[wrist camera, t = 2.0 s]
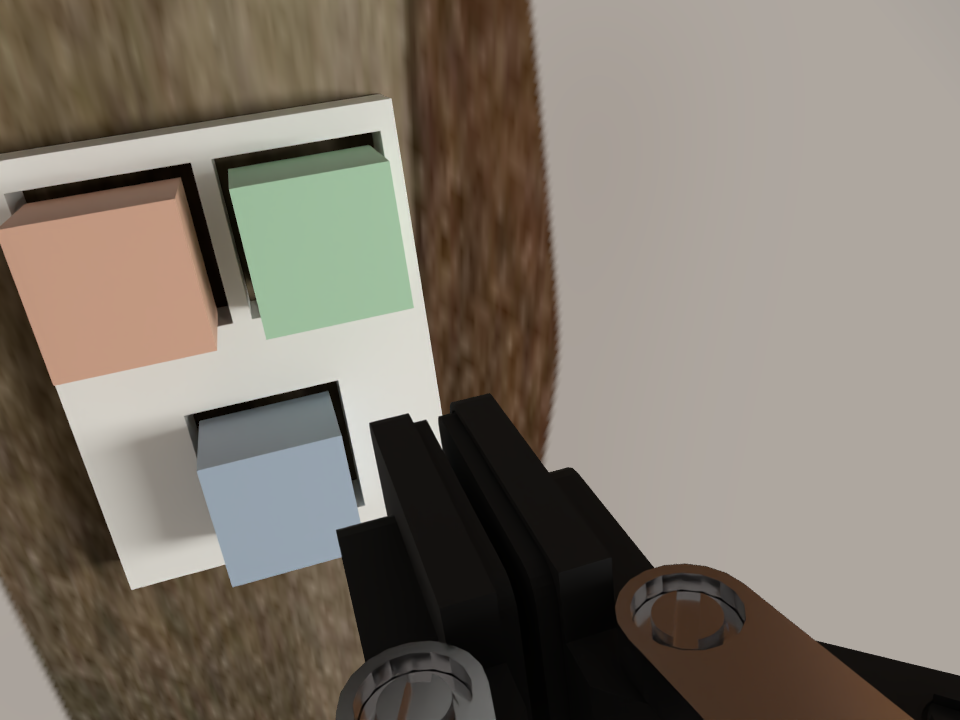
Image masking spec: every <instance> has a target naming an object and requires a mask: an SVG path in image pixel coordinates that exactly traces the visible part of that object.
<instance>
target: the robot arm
mask: <svg viewBox="0 0 960 720" xmlns="http://www.w3.org/2000/svg"><path fill="white" fill-rule="evenodd" d="M438 425H439V432H440V438H441V444H442V448H441V446H440V444H439V442H438V440H437V438H436V437H435V435H434V433H433V431H432V429H431V427H430V425H429V423H428V421H427V420H422V421H418V422H413V420H412V418H411V416H410V415H409V413H407V414H403V415H398V416H394V417H390V418H386V419H382V420H378V421H374V422H370V423H369V428H370V434H371V439H372V444H373V449H374V454H375V459H376V464H377V469H378V473H379V478H380V483H381V488H382V493H383V498H384V503H385V508H386V513H387V516H385V517H382V518H378V519H374V520H371V521H367V522H363V523H359V524H356V525H352V526H348V527H345V528H341V529H337V530H336V534H337V538H338V542H339V547H340V551H341V556H342V560H343V565H344V569H345V574H346V578H347V582H348V587H349V591H350V596H351V600H352V605H353V609H354V614H355V618H356V622H357V627H358V631H359V636H360V640H361V645H362V649H363V654H364V658H365V663H364V664H363V665H362V666H361V667H360V668H359V669H358V670H357V671H356V672H354V673H353V674H352V675H351V677H350V678H349V680H348V682H347V683H346V685H345V687H344V688H343V690H342V691H341V693H340V697H339V702H338V706H337V711H336V720H960V676H958V675H954V674H950V673H946V672H942V671H938V670H934V669H930V668H926V667H922V666H917V665H914V664H909V663H905V662H901V661H897V660H892V659H889V658H885V657H881V656H877V655H873V654H868V653H864V652H860V651H856V650H852V649H848V648H844V647H839V646H836V645H832V644H827V643H823V642H819V641H815V640H814V639H813V638H811V637H810V636H809V635H808V634H806V633H805V632H804V631H803V630H801V629H800V628H799V627H798V626H796V625H795V624H794V623H793V622H791V621H790V620H789V619H787V618H786V617H785V616H784V615H783V614H781V613H780V612H779V611H777V610H776V609H775V608H774V607H773V606H771V605H770V604H769V603H768V602H766V601H765V600H764V599H763V598H761V597H760V596H759V595H758V594H756V593H755V592H754V591H753V590H751V589H750V588H749V587H748V586H746V585H745V584H744V583H742V582H741V581H739V580H737V579H736V578H734V577H732V576H731V575H729V574H727V573H725V572H722V571H719V570H716V569H713V568H710V567H707V566H701V565H693V564H673V565H663V566H660V567H656V568H654V567H653V566H652V565H651V563H650V562H649V561H648V560H647V558H646V557H645V556H644V555H643V553H642V552H641V551H640V550H639V548H638V547H637V546H636V545H635V543H634V542H633V541H632V540H631V539H630V537H629V536H628V535H627V534H626V532H625V531H624V530H623V529H622V527H621V526H620V525H619V524H618V522H617V521H616V520H615V519H614V517H613V516H612V515H611V514H610V512H609V511H608V510H607V509H606V507H605V506H604V505H603V504H602V502H601V501H600V500H599V499H598V497H597V496H596V495H595V494H594V493H593V491H592V490H591V489H590V487H589V486H588V485H587V484H586V482H585V481H584V480H583V479H582V478H581V476H580V475H579V474H578V473H577V472H576V471H575V470H574V469H573V468H569V467H568V468H564V469H560V470H556V471H553V472H548V471H547V469H546V468H545V467H544V465H543V464H542V463H541V461H540V460H539V459H538V457H537V456H536V455H535V453H534V452H533V451H532V449H531V448H530V446H529V445H528V444H527V442H526V441H525V440H524V438H523V437H522V436H521V434H520V433H519V432H518V430H517V429H516V427H515V426H514V425H513V423H512V422H511V421H510V419H509V418H508V417H507V415H506V414H505V413H504V411H503V410H502V409H501V407H500V406H499V404H498V403H497V402H496V400H495V399H494V398H493V396H492V395H491V394H490V393H489V394H485V395H481V396H477V397H472V398H468V399H464V400H460V401H456V402H452V403H451V404H450V414H446V415H442V416H439V417H438Z"/></svg>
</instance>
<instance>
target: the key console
mask: <svg viewBox="0 0 960 720" xmlns="http://www.w3.org/2000/svg"><path fill="white" fill-rule="evenodd" d="M370 132H372V137H373V143H374V149H375V150H376V151H377V152H379V153H380V154H381V155H382V156H384V157H385V158H386V159H388V160H389V162H390V168H391V174H392V180H393V186H394V192H395V198H396V204H397V210H398V216H399V222H400V228H401V234H402V240H403V246H404V252H405V258H406V264H407V270H408V276H409V282H410V288H411V294H412V300H413V306H414V308H412V309H407V310H402V311H398V312H393V313H389V314H384V315H379V316H375V317H370V318H365V319H361V320H356V321H352V322H347V323H342V324H338V325H333V326H329V327H324V328H319V329H315V330H310V331H305V332H301V333H296V334H292V335H287V336H282V337H278V338H273V339H268V340H266V336H265V332H264V328H263V324H262V320H261V316H260V312H259V308H258V304H257V300H253V301H250V299H249V295H248V291H247V287H246V283H245V279H244V275H243V271H242V267H241V263H240V259H239V255H238V251H237V248H236V244H235V240H234V236H233V232H232V228H231V224H230V220H229V216H228V212H227V208H226V204H225V200H224V196H223V192H222V188H221V184H220V180H219V176H218V172H217V169H216V165H215V161H214V159H215V158H221V157H227V156H233V155H239V154H245V153H251V152H257V151H262V150H268V149H274V148H280V147H286V146H292V145H298V144H304V143H310V142H316V141H322V140H328V139H334V138H340V137H346V136H352V135H358V134H364V133H370ZM185 163H191V166H192V169H193V173H194V177H195V181H196V185H197V188H198V192H199V196H200V200H201V203H202V207H203V211H204V215H205V219H206V222H207V226H208V230H209V234H210V237H211V241H212V245H213V249H214V252H215V256H216V260H217V264H218V268H219V271H220V275H221V279H222V283H223V286H224V290H225V294H226V298H227V301H228V305H229V306H224V307H219V308H217V312H218V324H217V351H213V352H208V353H204V354H199V355H194V356H190V357H185V358H181V359H176V360H171V361H167V362H162V363H157V364H153V365H148V366H144V367H139V368H134V369H130V370H125V371H120V372H116V373H111V374H107V375H102V376H97V377H93V378H88V379H83V380H79V381H74V382H70V383H65V384H60V385H56V386H55V387H56V389H57V392H58V395H59V397H60V400H61V403H62V405H63V408H64V411H65V413H66V416H67V419H68V421H69V424H70V427H71V429H72V432H73V435H74V437H75V440H76V443H77V445H78V448H79V451H80V453H81V456H82V459H83V462H84V464H85V467H86V470H87V472H88V475H89V478H90V480H91V483H92V486H93V488H94V491H95V494H96V496H97V499H98V502H99V504H100V507H101V510H102V512H103V515H104V518H105V520H106V523H107V526H108V528H109V531H110V534H111V536H112V539H113V542H114V544H115V547H116V550H117V552H118V555H119V558H120V561H121V563H122V566H123V569H124V571H125V574H126V577H127V579H128V582H129V585H130V587H131V590H133V589H136V588H140V587H144V586H147V585H151V584H155V583H158V582H162V581H166V580H169V579H173V578H177V577H181V576H184V575H188V574H192V573H195V572H199V571H203V570H206V569H210V568H214V567H217V566H221V565H225V561H224V558H223V555H222V552H221V548H220V545H219V542H218V539H217V536H216V532H215V529H214V526H213V523H212V519H211V516H210V513H209V510H208V506H207V503H206V500H205V497H204V494H203V490H202V487H201V484H200V481H199V477H198V474H197V453H198V435H199V433H198V430H197V427H196V423H195V420H194V417H193V414H194V413H198V412H203V411H207V410H211V409H216V408H220V407H224V406H229V405H233V404H237V403H242V402H246V401H250V400H255V399H259V398H263V397H268V396H272V395H276V394H281V393H285V392H289V391H294V390H298V389H302V388H307V387H311V386H315V385H320V384H324V383H328V382H333V381H336V383H337V388H338V392H339V397H340V402H341V406H342V411H343V415H344V420H345V425H346V429H347V434H348V439H349V443H350V448H351V452H352V457H353V462H354V466H355V471H356V475H357V479H355V480H351V481H352V485H353V490H354V494H355V499H356V504H357V508H358V513H359V517H360V522H361V523H363V522H367V521H371V520H374V519H378V518H382V517H385V516H387V513H386V508H385V503H384V498H383V493H382V488H381V483H380V478H379V473H378V469H377V464H376V459H375V454H374V449H373V444H372V439H371V434H370V428H369V423H370V422H374V421H378V420H382V419H386V418H390V417H394V416H398V415H403V414H407V413H409V415H410V416H411V418H412V420H413V422H418V421H422V420H427V421H428V423H429V425H430V427H431V429H432V431H433V433H434V435H435V437H436V438H437V440H438V442H439V444H440V446H441V448H442V444H441V438H440V432H439V425H438V417H439V416H442V411H441V405H440V399H439V393H438V386H437V380H436V374H435V368H434V361H433V355H432V349H431V343H430V337H429V330H428V324H427V318H426V312H425V305H424V299H423V293H422V287H421V280H420V274H419V268H418V262H417V256H416V249H415V243H414V237H413V231H412V224H411V218H410V212H409V206H408V200H407V193H406V187H405V181H404V175H403V168H402V162H401V156H400V150H399V144H398V137H397V131H396V125H395V119H394V112H393V106H392V100H391V98H389V97H387V96H384V95H382V94H376V95H370V96H363V97H357V98H351V99H344V100H338V101H332V102H325V103H319V104H313V105H306V106H300V107H294V108H287V109H281V110H275V111H268V112H262V113H256V114H249V115H243V116H237V117H230V118H224V119H218V120H211V121H205V122H199V123H192V124H186V125H180V126H173V127H167V128H161V129H155V130H148V131H142V132H136V133H129V134H123V135H117V136H110V137H104V138H98V139H91V140H85V141H79V142H72V143H66V144H60V145H53V146H47V147H41V148H34V149H28V150H22V151H15V152H9V153H3V154H0V226H1V225H2V224H3V223H4V222H5V221H6V220H8V219H9V218H10V217H11V216H12V215H13V214H14V213H15V212H16V211H18V210H19V209H20V208H21V207H22V206H23V205H24V204H27V203H26V200H25V198H24V195H23V192H22V191H24V190H30V189H36V188H42V187H48V186H54V185H60V184H66V183H72V182H78V181H84V180H90V179H96V178H102V177H108V176H113V175H119V174H125V173H131V172H137V171H143V170H149V169H155V168H161V167H167V166H173V165H179V164H185Z"/></svg>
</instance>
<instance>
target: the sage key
mask: <svg viewBox="0 0 960 720" xmlns="http://www.w3.org/2000/svg"><path fill="white" fill-rule="evenodd" d="M228 181H229V192H230V196H231V200H232V204H233V208H234V212H235V216H236V220H237V224H238V228H239V232H240V236H241V240H242V244H243V248H244V252H245V256H246V260H247V264H248V268H249V272H250V276H251V280H252V284H253V288H254V292H255V296H256V300H257V304H258V308H259V312H260V316H261V320H262V324H263V328H264V332H265V336H266V340H268V339H273V338H278V337H282V336H287V335H292V334H296V333H301V332H305V331H310V330H315V329H319V328H324V327H329V326H333V325H338V324H342V323H347V322H352V321H356V320H361V319H365V318H370V317H375V316H379V315H384V314H389V313H393V312H398V311H402V310H407V309H412V308H414V306H413V300H412V294H411V288H410V282H409V276H408V270H407V264H406V258H405V252H404V246H403V240H402V234H401V228H400V222H399V216H398V210H397V204H396V198H395V192H394V186H393V180H392V174H391V168H390V162H389V160H388V159H386V158H385V157H384V156H382V155H381V154H380V153H379V152H377V151H376V150H375V149H374V148H372V147H371V146H370V145H366V146H360V147H354V148H348V149H343V150H337V151H331V152H325V153H319V154H313V155H307V156H302V157H296V158H290V159H284V160H278V161H272V162H267V163H261V164H255V165H249V166H243V167H237V168H231V169H228Z"/></svg>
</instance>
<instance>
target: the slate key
mask: <svg viewBox="0 0 960 720" xmlns="http://www.w3.org/2000/svg"><path fill="white" fill-rule="evenodd" d="M197 474H198V477H199V481H200V484H201V487H202V490H203V494H204V497H205V500H206V503H207V506H208V510H209V513H210V516H211V519H212V523H213V526H214V529H215V532H216V536H217V539H218V542H219V545H220V548H221V552H222V555H223V558H224V561H225V565H226V568H227V571H228V574H229V577H230V581H231V584H232V587H235V586H239V585H242V584H246V583H250V582H253V581H257V580H260V579H264V578H268V577H271V576H275V575H279V574H282V573H286V572H289V571H293V570H297V569H300V568H304V567H307V566H311V565H315V564H318V563H322V562H325V561H329V560H333V559H336V558H340V557H342V556H341V551H340V547H339V542H338V538H337V534H336V530H337V529H341V528H345V527H348V526H352V525H356V524H359V523H361V522H360V517H359V513H358V508H357V504H356V499H355V494H354V490H353V485H352V481H351V476H350V472H349V467H348V463H347V458H346V454H345V449H344V445H343V440H342V435H341V432H340V429H339V425H338V422H337V418H336V415H335V412H334V408H333V405H332V401H331V398H330V395H329V391H326V392H321V393H317V394H313V395H309V396H304V397H300V398H296V399H291V400H287V401H283V402H279V403H274V404H270V405H266V406H261V407H257V408H253V409H248V410H244V411H240V412H236V413H231V414H227V415H223V416H218V417H214V418H210V419H206V420H201V421H199V435H198V453H197Z"/></svg>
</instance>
